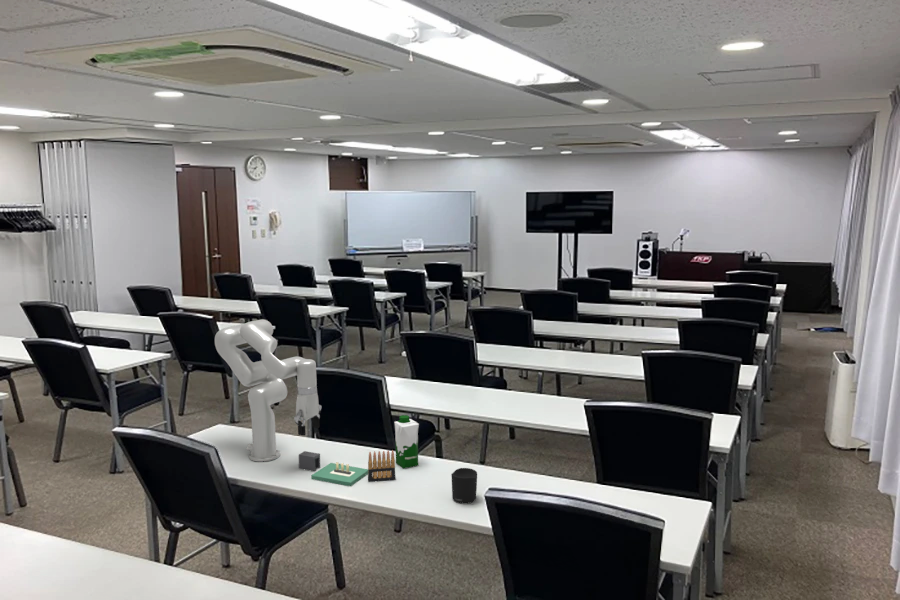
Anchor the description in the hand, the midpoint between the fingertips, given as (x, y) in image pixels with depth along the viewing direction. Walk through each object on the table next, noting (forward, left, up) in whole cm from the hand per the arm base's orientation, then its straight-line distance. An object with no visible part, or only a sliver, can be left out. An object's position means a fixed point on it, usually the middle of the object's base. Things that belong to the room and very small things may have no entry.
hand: (309, 431), depth 273 cm
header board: (+16, -2, -16) cm, 22 cm away
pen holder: (+69, -2, -16) cm, 71 cm away
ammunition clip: (+33, +1, -16) cm, 36 cm away
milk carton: (+35, +19, -16) cm, 43 cm away
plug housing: (0, 0, -16) cm, 16 cm away
